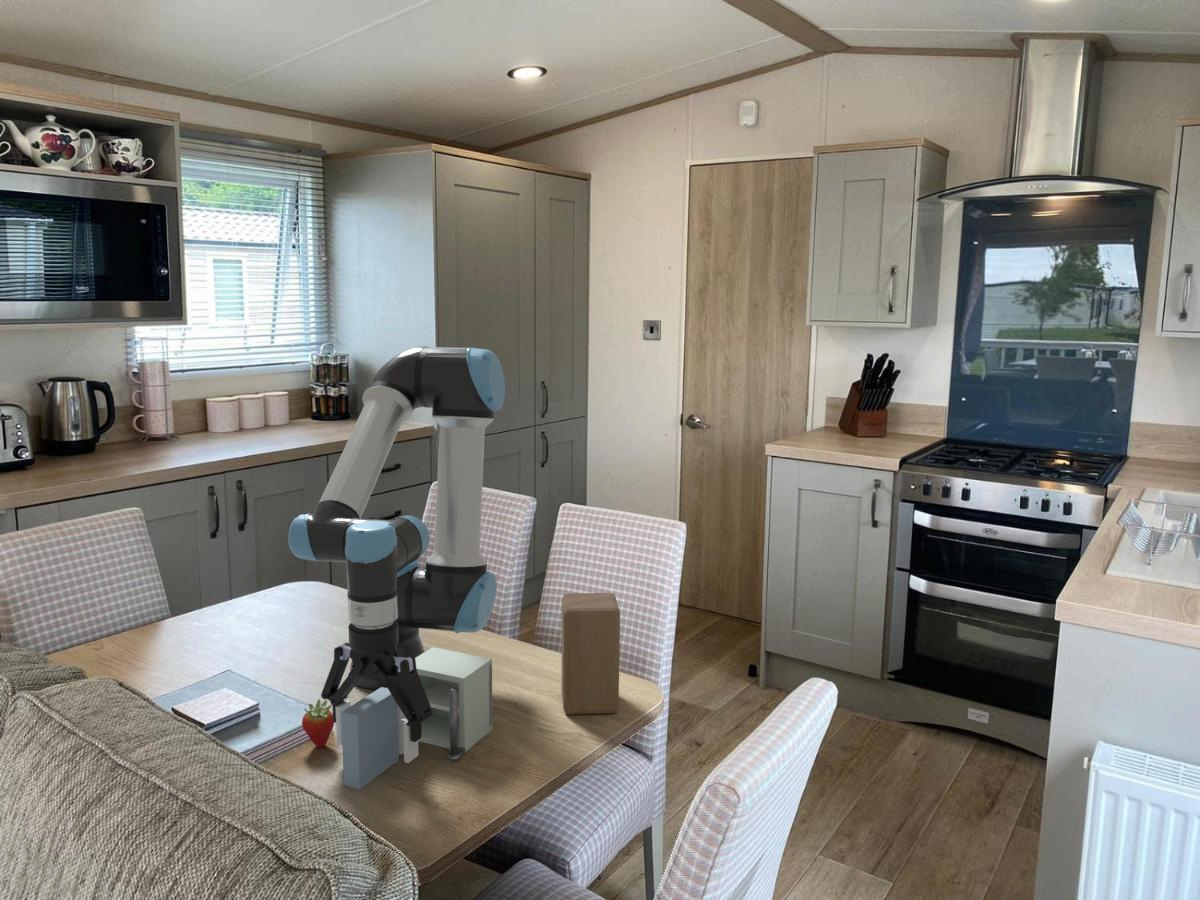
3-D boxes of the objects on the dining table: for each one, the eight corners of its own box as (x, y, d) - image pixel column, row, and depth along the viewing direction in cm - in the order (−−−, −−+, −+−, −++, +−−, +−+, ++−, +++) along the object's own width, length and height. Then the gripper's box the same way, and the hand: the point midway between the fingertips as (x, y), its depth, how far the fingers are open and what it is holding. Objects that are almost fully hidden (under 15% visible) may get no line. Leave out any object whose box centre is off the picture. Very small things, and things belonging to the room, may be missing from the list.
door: (341, 784, 144) (338, 711, 142) (395, 744, 157) (393, 677, 155) (362, 790, 143) (359, 716, 140) (415, 749, 155) (414, 681, 153)
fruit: (305, 756, 152) (303, 710, 151) (301, 742, 157) (299, 697, 156) (337, 750, 154) (335, 705, 153) (332, 736, 159) (331, 692, 158)
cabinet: (404, 737, 159) (402, 665, 157) (434, 716, 167) (432, 647, 165) (464, 752, 154) (464, 678, 152) (492, 729, 162) (492, 658, 160)
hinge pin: (445, 760, 152) (444, 690, 150) (457, 750, 155) (456, 682, 153) (456, 762, 151) (454, 692, 149) (467, 753, 154) (466, 684, 152)
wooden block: (561, 692, 177) (561, 591, 174) (613, 691, 178) (615, 591, 175) (563, 716, 168) (564, 610, 164) (619, 715, 168) (620, 609, 165)
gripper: (294, 617, 146) (300, 744, 150) (425, 642, 137) (428, 778, 140) (326, 602, 153) (331, 724, 157) (453, 625, 143) (455, 755, 147)
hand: (377, 750), depth 149 cm, fingers open, 12 cm apart
